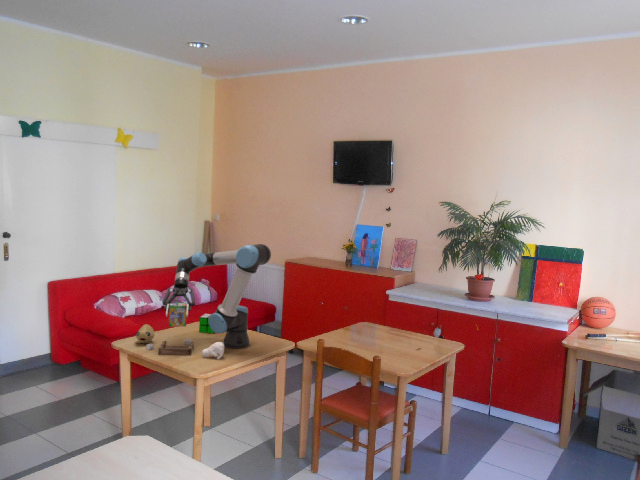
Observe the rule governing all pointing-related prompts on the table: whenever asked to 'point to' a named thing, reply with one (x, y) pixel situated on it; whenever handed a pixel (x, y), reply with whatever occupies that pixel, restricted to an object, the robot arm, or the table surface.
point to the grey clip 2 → (187, 341)
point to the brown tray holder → (175, 349)
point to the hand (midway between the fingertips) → (176, 315)
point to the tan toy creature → (145, 334)
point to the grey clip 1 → (149, 347)
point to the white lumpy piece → (214, 350)
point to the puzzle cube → (205, 324)
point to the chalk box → (177, 314)
